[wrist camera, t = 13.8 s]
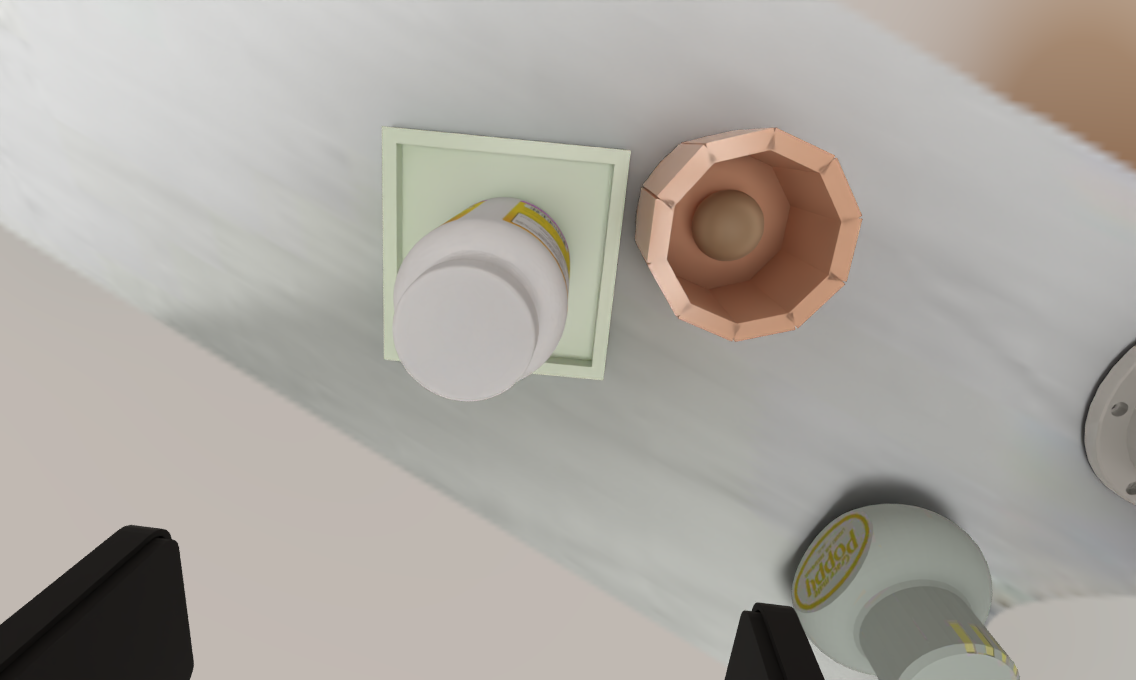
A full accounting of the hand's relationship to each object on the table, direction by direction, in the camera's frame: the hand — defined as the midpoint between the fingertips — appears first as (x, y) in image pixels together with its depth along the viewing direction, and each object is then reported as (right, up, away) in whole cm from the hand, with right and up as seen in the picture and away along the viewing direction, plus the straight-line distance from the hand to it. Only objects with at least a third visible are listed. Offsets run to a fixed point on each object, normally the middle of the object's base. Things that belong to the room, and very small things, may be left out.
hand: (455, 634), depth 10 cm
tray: (-2, +9, +22) cm, 24 cm away
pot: (+10, +11, +21) cm, 26 cm away
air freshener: (+21, -9, +28) cm, 36 cm away
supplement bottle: (-1, +9, +22) cm, 24 cm away
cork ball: (+10, +11, +20) cm, 25 cm away
